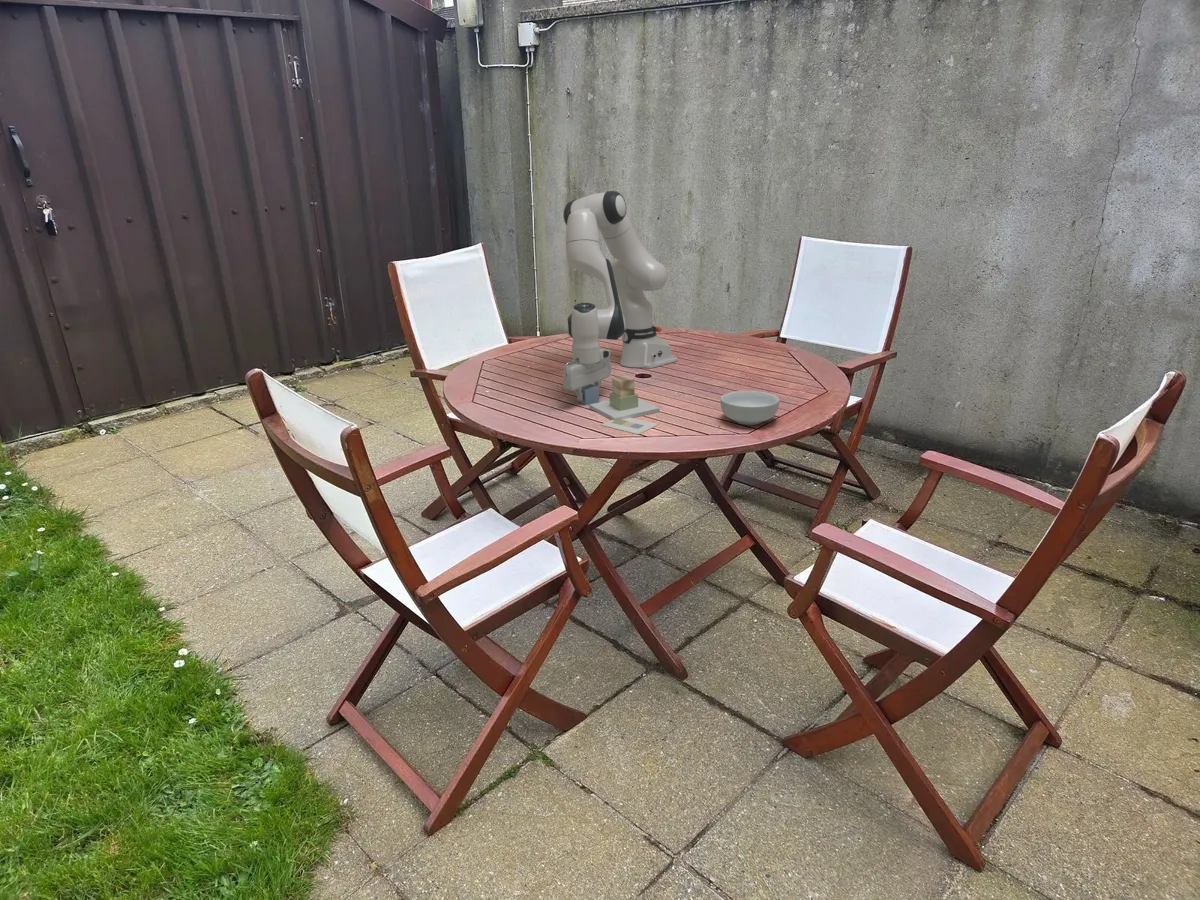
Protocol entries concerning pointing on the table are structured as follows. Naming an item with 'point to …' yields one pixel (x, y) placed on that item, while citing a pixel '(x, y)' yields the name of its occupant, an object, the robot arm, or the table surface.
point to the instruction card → (630, 425)
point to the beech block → (623, 386)
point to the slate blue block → (590, 394)
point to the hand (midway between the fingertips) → (588, 396)
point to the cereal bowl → (749, 406)
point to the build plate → (625, 413)
